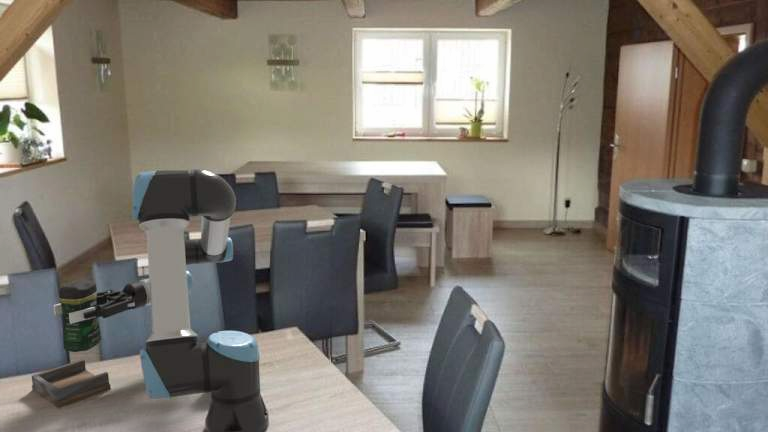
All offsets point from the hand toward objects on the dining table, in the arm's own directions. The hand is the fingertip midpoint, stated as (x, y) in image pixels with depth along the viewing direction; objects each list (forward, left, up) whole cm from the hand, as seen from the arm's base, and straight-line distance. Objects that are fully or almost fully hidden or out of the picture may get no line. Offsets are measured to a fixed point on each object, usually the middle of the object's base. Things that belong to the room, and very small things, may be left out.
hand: (62, 314), depth 171 cm
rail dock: (+1, -1, -22) cm, 22 cm away
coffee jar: (0, -5, -11) cm, 12 cm away
